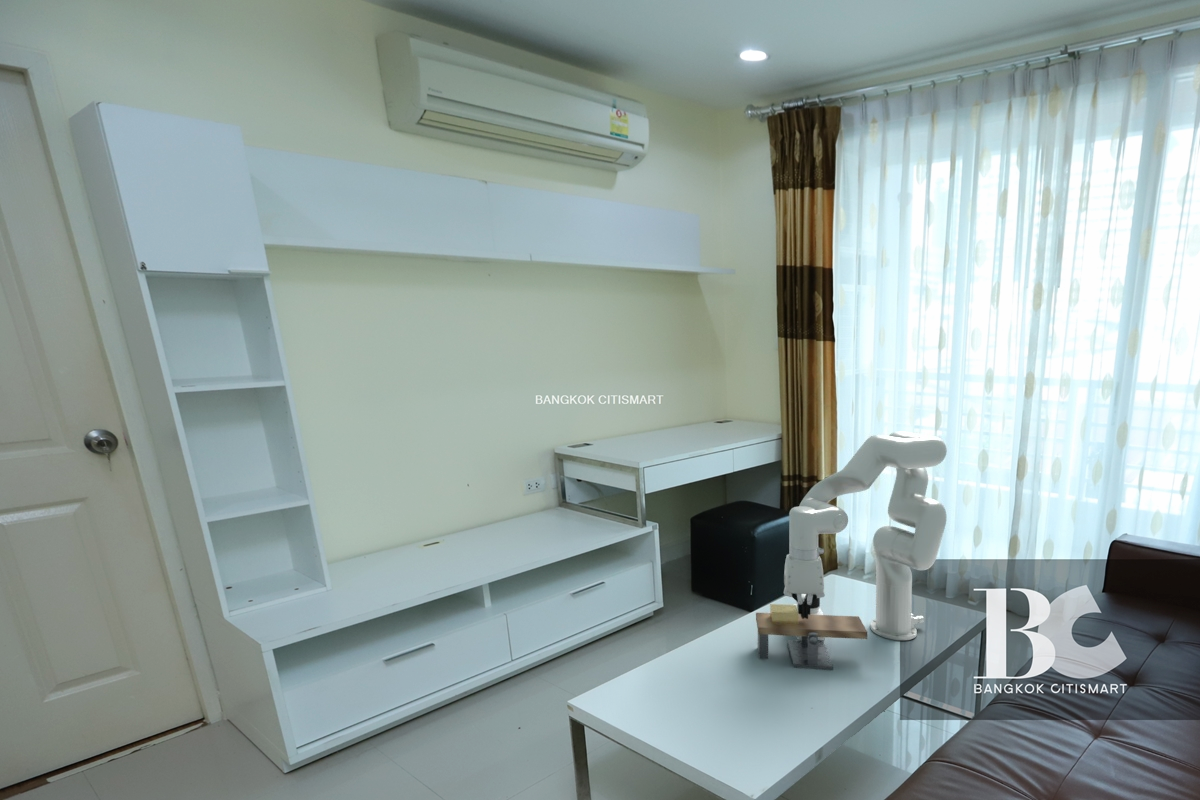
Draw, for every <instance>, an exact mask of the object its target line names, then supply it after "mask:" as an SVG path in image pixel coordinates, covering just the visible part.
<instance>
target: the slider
mask: <svg viewBox="0 0 1200 800" xmlns="http://www.w3.org/2000/svg"><path fill="white" fill-rule="evenodd" d="M769 613H770V617H771V621H772V624H779V625H799V617H798V610H797V607H796V605H793V604H777V603H776V604H775V603H773V604H772V603H771V604H769Z"/></svg>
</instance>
